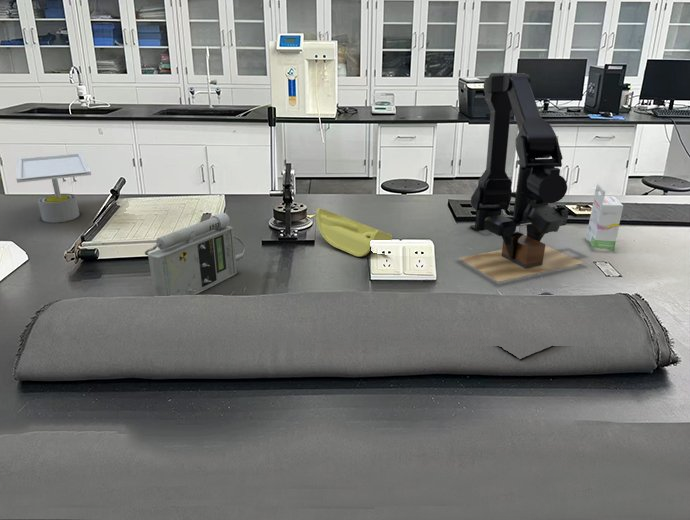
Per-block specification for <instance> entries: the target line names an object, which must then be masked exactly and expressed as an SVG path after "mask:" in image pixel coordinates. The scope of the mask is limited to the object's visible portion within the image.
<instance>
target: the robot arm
mask: <svg viewBox="0 0 690 520" xmlns="http://www.w3.org/2000/svg"><path fill="white" fill-rule="evenodd" d="M483 92H484V101H485V102H486V104H487V106H488V108H489V111H490V114H489V116H490V117H489V126H488V127H489V128H488V139H487V153H486V163H485V164H486V165H485V167H486V168H485V170H484V171H483V172H482V174H481V175H480V177H479V179H478V182H477V187H476V188H475V190H474V192H473V194H472V196H471V197H470V205H471V207H472V208H473V209H474V210H475V211H476V212H475V221H474V224H472V225H470V226H469V228H470V229H472V230H474V231H476V232H481V231H482V232H483V231H487V232H490V233H492V234H494V235H496V236H498V237H501V239H502V241H503V240H504V243H505V246H506V248H507V251H508V254H509V257H510V258H511V259H514V258H515V255H516V250H517V244H518V239H519V238H520V237H521V236H522V235H523V234H524V233H522V232H520V227H522V226H526V236H528V237H531V238H533V239H535V240H537V241H539V242H541V240H542V239H543V237H545V234H549V233H552V232H553V233H556V232H558V231H559V229H560V227H562V226H566V225H567V223H568V222H567V220H568V218H569V208H568V207H567V206H565V205H563V206H562V205H561V206H557V207H555V206H550V205H549V204H554V203H558V202H559V201H561V200H562V199H563V198H564V197H565V196H566V194H567V191H568V183H567V181H566V178H564V176H562V175H561V169H560V168H562V166H563V163H562V160H563V155H562V151H561V146H560V143H559V139H558V136H557V134H556V132H555V131H554V129H553V127H552V125H551V123H549V122H547V121H546V120H544V119H543V118H542V116H541V113H540V110H539V107H538V104H537V102H536V99H535V96H534V93H533V89H532V87H531V77H530V74H527V73H524V72H523V73H521V72H520V73H517V72H491V73H490V74H489V75H488V77H485V79H484V81H483ZM512 112H513V115H514V118H515V119H514V120H515V122H516V126H517V128H518V133H517V135H516V138H515V152H516V154H517V157H518V160H517V162H516V163H517V165H519V167H518V173H517V181H516V182H517V183H516V190H515V191H512V190H513V189H512V184H513V182H512V179H511V178H509V176H508V174H507V171H506V167H507V156H508V155H507V154H508V145H509V136H510V135H509V134H510V133H509V132H510V123H511V113H512ZM512 198H513V199H514V205H513V209H509V207H510V203H511V200H512ZM503 210H506V211H507V210H509V211H508V215H509V216H512V217H511V218H510V217H507V216H504V215H502V211H503Z"/></svg>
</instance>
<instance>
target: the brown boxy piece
mask: <svg viewBox="0 0 690 520" xmlns="http://www.w3.org/2000/svg"><path fill="white" fill-rule="evenodd" d="M522 234H523V235H522V236H521V237H520V238H519V239H518V244H517V250H516V255H515V258H514V259H511V258H510V257H509V254H508V251H507V248H506V246H505V243H504V240H503V239H502V248H501V250H502V255H501V256H502V257H504V258H506V259H508V260H510V261H512V262H514V263H516V264H517V265H519V266H521V267H523V268H525V269H527V268H531V267H536V266H541V265H542V264H543V257H544V251H545V245H546V243H543V242H542V241H540V242H539V241H537V240H535V239H533V238H531V237H528V236H527V234H524V233H522ZM546 246H547V245H546Z"/></svg>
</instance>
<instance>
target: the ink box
mask: <svg viewBox="0 0 690 520" xmlns="http://www.w3.org/2000/svg"><path fill="white" fill-rule="evenodd" d="M623 211H624V205H623V203H621V202H620V200H619V199H618V198H617V197H616V196H613V195H606V190H605V189H604V188H603V187H602V186H601V185H600V184H599V183H597V184H596V187H595V192H594V195H593V200H592V207H591V211H590V217H589V222H588V227H587V232H586V237H585V240H586V241H587V242H589V243H590V244H591V246H592V247H593V248H595V249H607V250H609V251H612V252H614V251H615V247H616V243H617V237H618V232H619V227H620V223H621V218H622V213H623Z"/></svg>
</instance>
